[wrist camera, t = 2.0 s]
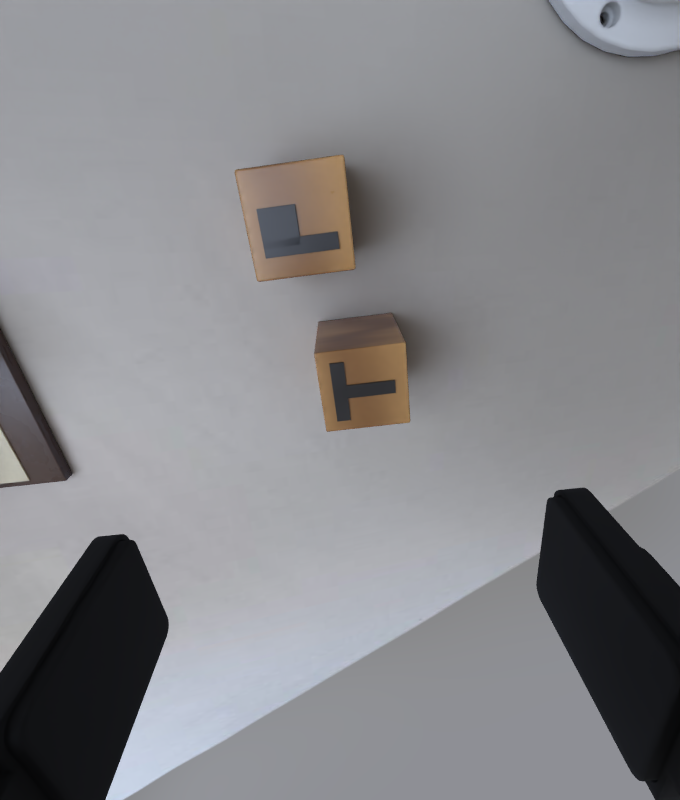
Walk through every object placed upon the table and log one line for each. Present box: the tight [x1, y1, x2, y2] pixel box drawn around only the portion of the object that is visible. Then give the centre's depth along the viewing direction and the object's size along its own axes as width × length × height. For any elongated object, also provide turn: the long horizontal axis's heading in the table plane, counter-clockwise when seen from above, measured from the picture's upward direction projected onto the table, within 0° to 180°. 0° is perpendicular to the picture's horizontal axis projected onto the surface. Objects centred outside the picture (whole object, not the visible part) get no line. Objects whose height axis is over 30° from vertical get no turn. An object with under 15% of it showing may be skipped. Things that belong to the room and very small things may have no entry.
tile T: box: [314, 313, 410, 432], centre depth 23 cm, size 4×4×6 cm
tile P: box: [235, 155, 356, 282], centre depth 20 cm, size 4×4×6 cm
